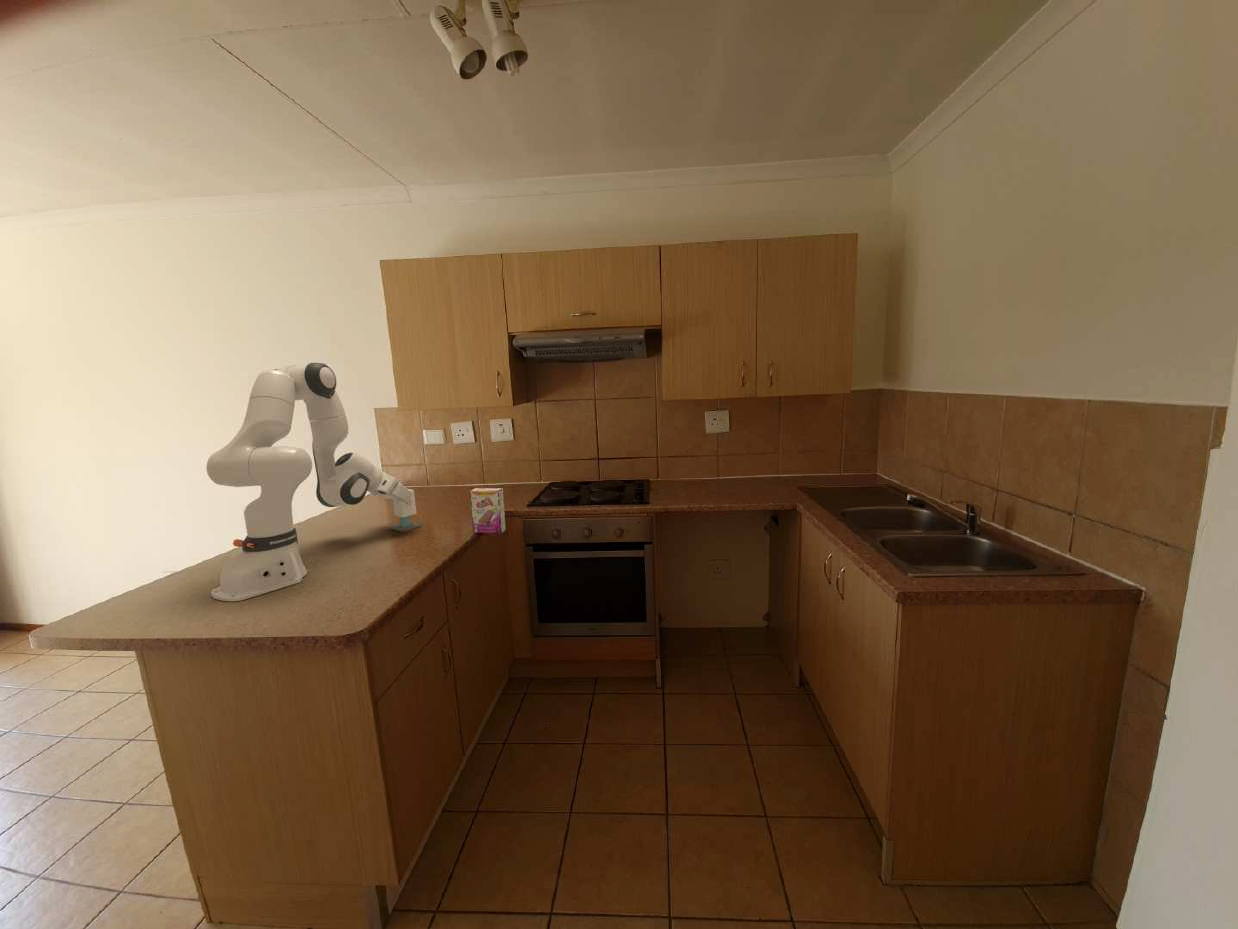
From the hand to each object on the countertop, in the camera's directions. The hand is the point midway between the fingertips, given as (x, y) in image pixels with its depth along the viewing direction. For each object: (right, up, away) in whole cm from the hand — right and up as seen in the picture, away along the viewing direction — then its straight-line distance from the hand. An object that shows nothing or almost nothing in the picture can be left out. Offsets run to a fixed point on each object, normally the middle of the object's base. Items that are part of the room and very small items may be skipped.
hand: (405, 502), depth 190 cm
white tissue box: (0, -5, 0) cm, 5 cm away
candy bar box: (+35, -11, -9) cm, 38 cm away
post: (0, -10, 0) cm, 10 cm away
